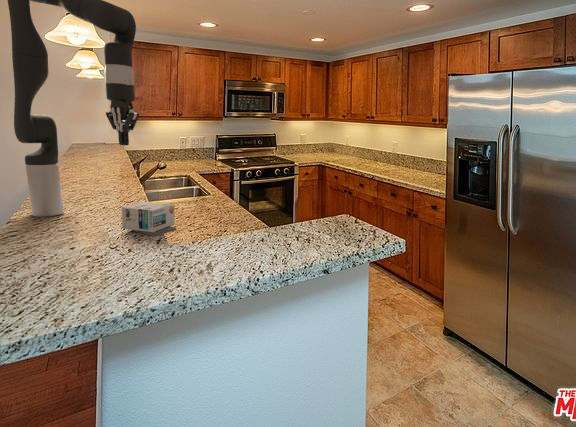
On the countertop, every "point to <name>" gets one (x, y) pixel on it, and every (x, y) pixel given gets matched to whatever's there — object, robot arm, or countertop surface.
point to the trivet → (162, 231)
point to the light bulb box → (148, 216)
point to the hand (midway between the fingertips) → (124, 145)
